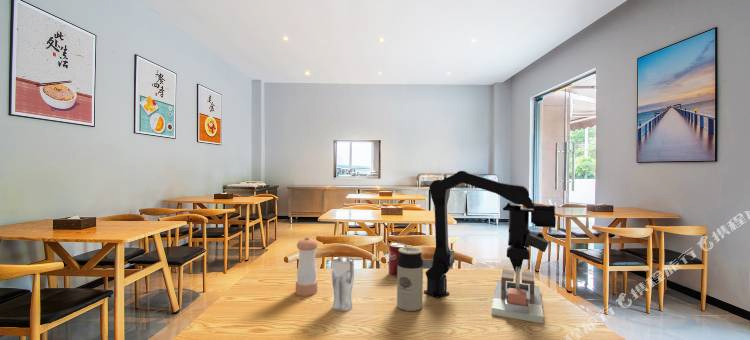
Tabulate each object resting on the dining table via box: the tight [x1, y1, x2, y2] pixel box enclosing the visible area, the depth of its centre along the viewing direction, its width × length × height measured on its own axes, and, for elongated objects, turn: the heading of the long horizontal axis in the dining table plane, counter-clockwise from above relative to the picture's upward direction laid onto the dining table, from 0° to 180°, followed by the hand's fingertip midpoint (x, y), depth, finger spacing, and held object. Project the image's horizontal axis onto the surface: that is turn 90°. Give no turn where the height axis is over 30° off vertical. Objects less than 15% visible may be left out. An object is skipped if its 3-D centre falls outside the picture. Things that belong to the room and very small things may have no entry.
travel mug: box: [396, 246, 424, 312], centre depth 107 cm, size 8×8×18 cm
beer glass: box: [331, 256, 355, 312], centre depth 106 cm, size 7×7×15 cm
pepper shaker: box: [295, 236, 318, 297], centre depth 118 cm, size 7×7×19 cm
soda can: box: [388, 242, 408, 277], centre depth 139 cm, size 7×7×12 cm
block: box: [508, 288, 527, 306], centre depth 102 cm, size 5×5×5 cm
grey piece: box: [505, 266, 529, 314], centre depth 103 cm, size 8×7×11 cm
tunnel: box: [500, 268, 535, 304], centre depth 112 cm, size 10×10×7 cm
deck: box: [491, 280, 545, 324], centre depth 112 cm, size 27×14×2 cm, turn 157°
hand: (517, 274), depth 108 cm, fingers closed
